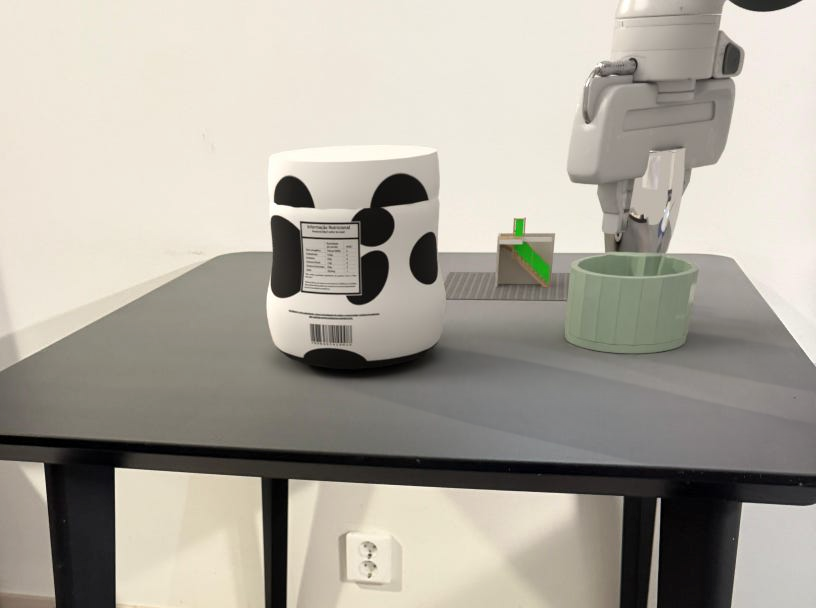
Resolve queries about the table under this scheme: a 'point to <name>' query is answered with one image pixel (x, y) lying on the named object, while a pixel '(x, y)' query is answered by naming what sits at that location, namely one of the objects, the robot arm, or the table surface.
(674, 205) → the beer glass
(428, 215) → the milk container
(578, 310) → the ceramic cup
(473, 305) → the table surface
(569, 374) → the table surface
